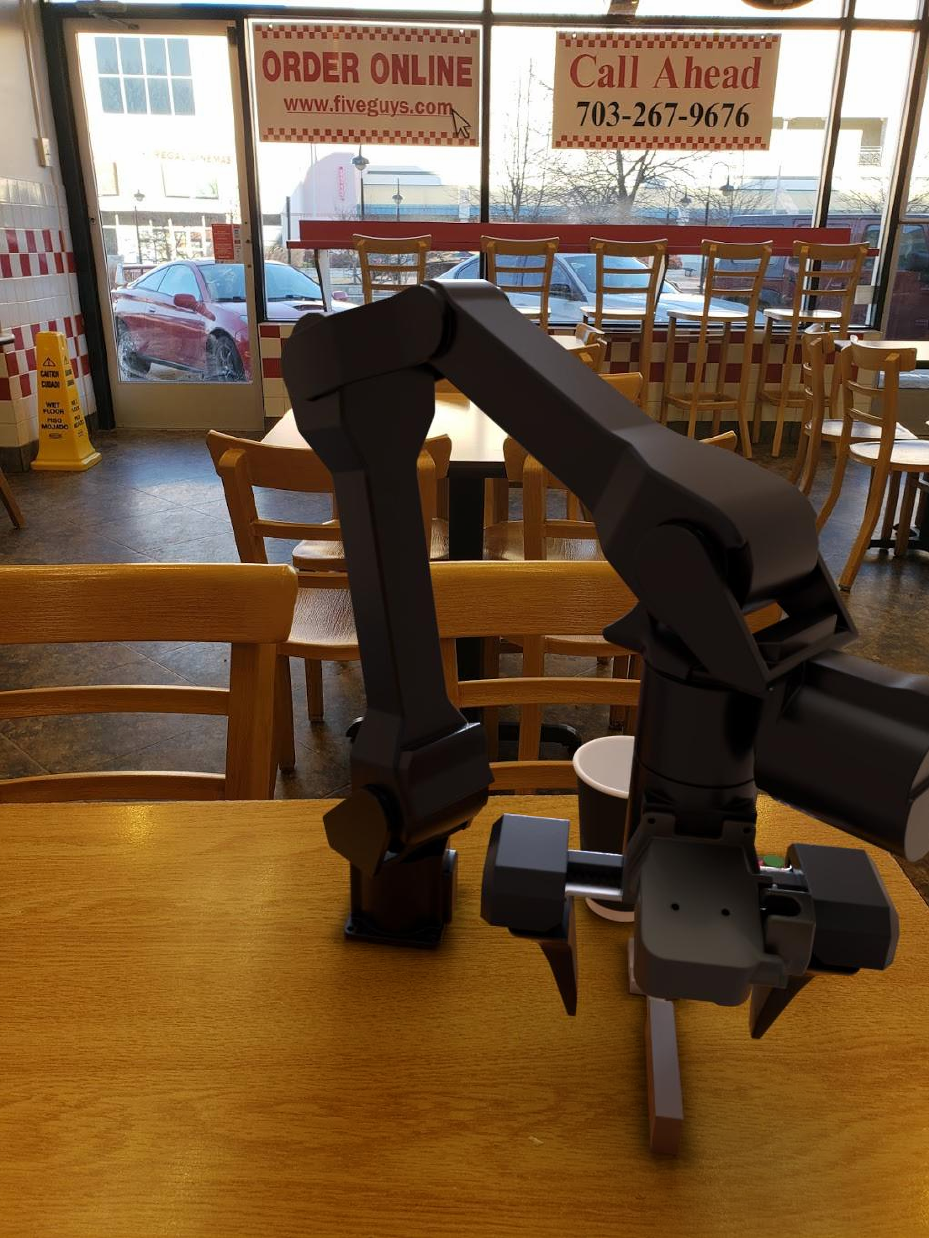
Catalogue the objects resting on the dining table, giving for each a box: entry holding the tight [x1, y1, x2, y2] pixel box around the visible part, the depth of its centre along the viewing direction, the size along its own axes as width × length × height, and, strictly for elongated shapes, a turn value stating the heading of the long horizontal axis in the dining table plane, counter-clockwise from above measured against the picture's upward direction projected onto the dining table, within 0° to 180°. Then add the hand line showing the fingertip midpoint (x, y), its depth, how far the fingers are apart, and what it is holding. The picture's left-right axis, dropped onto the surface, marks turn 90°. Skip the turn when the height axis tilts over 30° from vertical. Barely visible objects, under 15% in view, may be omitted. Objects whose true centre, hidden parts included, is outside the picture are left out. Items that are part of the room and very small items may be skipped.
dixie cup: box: [572, 735, 635, 923], centre depth 64 cm, size 8×8×11 cm
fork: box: [627, 936, 685, 1156], centre depth 54 cm, size 15×3×2 cm, turn 172°
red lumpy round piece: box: [759, 854, 785, 869], centre depth 65 cm, size 4×3×4 cm
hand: (661, 1021), depth 48 cm, fingers open, 9 cm apart
